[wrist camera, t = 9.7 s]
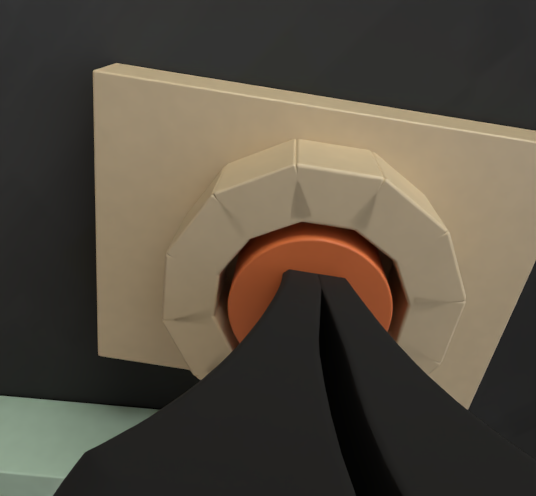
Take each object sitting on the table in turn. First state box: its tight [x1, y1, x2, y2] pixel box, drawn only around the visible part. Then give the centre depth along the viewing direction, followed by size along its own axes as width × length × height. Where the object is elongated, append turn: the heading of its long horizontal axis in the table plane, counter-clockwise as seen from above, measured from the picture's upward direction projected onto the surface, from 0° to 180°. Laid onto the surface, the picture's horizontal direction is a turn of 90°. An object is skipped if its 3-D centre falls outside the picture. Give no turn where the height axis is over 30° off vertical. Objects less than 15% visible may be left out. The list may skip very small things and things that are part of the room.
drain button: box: [227, 222, 393, 343], centre depth 11 cm, size 4×4×2 cm
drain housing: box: [93, 63, 536, 410], centre depth 12 cm, size 11×8×4 cm
